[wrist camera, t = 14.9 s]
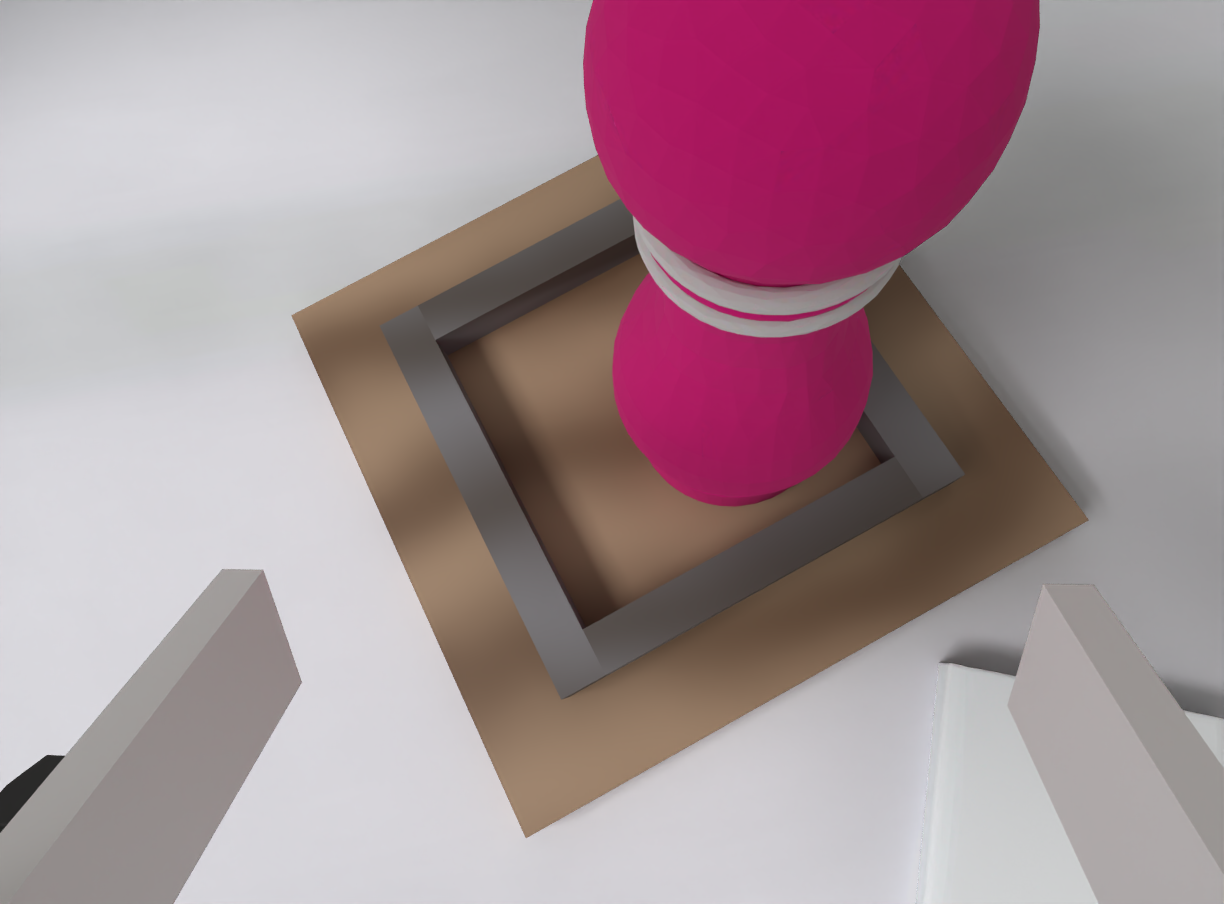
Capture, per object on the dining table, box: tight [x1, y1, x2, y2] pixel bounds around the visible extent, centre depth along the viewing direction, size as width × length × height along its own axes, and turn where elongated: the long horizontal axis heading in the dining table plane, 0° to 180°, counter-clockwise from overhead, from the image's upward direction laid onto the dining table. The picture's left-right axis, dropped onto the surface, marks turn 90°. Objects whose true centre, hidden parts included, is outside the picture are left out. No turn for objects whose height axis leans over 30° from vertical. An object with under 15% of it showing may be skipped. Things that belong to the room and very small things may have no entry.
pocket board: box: [292, 155, 1088, 838], centre depth 26 cm, size 20×20×3 cm
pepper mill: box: [583, 0, 1040, 507], centre depth 16 cm, size 7×7×20 cm
